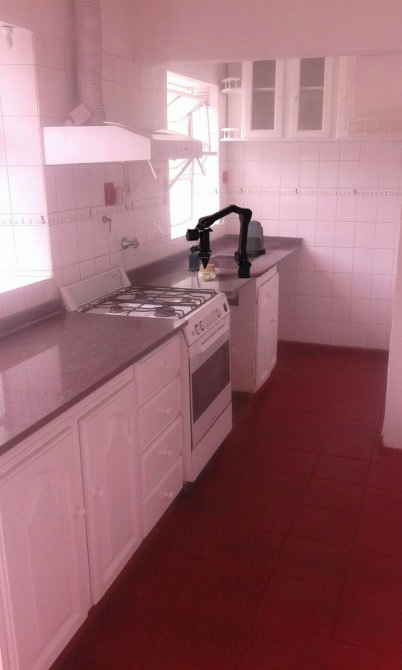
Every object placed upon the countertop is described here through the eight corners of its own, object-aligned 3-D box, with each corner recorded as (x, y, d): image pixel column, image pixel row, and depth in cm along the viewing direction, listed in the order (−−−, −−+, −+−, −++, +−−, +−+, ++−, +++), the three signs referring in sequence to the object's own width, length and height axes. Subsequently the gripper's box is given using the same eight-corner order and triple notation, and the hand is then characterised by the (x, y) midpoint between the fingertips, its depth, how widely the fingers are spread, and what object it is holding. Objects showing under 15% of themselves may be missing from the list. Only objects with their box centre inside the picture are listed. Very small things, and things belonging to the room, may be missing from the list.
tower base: (216, 275, 368) (216, 269, 367) (215, 278, 358) (215, 272, 358) (200, 275, 369) (200, 269, 368) (198, 278, 360) (198, 272, 359)
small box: (196, 271, 379) (196, 255, 376) (188, 271, 382) (187, 254, 380) (206, 269, 387) (206, 252, 384) (198, 268, 391) (198, 252, 388)
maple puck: (211, 279, 352) (211, 273, 351) (210, 281, 346) (210, 274, 345) (200, 280, 353) (200, 273, 351) (199, 282, 347) (199, 275, 346)
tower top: (214, 269, 366) (214, 264, 365) (213, 272, 359) (213, 266, 358) (201, 269, 367) (201, 264, 366) (199, 272, 360) (199, 266, 359)
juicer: (245, 251, 458) (245, 218, 451) (267, 251, 454) (267, 218, 448) (238, 257, 430) (237, 222, 424) (260, 258, 426) (260, 222, 420)
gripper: (192, 238, 353) (193, 265, 357) (188, 242, 335) (189, 270, 339) (211, 238, 352) (212, 264, 356) (208, 242, 334) (209, 270, 338)
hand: (205, 267), depth 347 cm, fingers open, 9 cm apart
